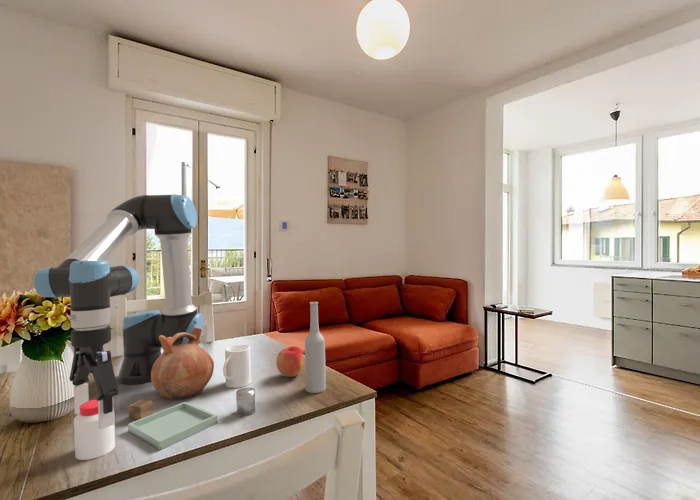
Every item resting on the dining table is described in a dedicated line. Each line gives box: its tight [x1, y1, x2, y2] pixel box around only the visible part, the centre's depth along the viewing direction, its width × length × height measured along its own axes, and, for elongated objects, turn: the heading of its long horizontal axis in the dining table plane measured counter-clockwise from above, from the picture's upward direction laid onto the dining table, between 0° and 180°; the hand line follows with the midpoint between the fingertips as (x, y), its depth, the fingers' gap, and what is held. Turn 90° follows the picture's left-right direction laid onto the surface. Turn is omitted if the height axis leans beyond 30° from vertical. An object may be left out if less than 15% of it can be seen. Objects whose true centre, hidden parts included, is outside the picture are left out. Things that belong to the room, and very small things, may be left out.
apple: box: [275, 346, 305, 378], centre depth 131 cm, size 10×10×10 cm
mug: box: [222, 344, 253, 389], centre depth 124 cm, size 12×8×12 cm
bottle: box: [304, 301, 327, 394], centre depth 119 cm, size 7×7×28 cm
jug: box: [151, 327, 215, 401], centre depth 118 cm, size 18×18×20 cm
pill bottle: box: [73, 399, 116, 461], centre depth 86 cm, size 8×8×11 cm
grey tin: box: [235, 386, 256, 417], centre depth 104 cm, size 5×5×6 cm
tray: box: [127, 401, 219, 451], centre depth 96 cm, size 15×15×2 cm
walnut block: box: [128, 399, 154, 422], centre depth 102 cm, size 4×4×4 cm
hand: (93, 419), depth 85 cm, fingers open, 13 cm apart
